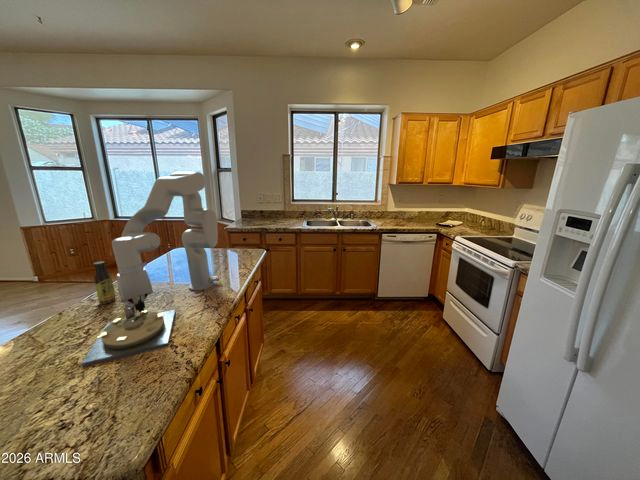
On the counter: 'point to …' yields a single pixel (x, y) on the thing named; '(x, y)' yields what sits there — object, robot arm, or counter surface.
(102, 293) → the sauce bottle
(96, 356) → the cap plate
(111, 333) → the notched gold disc
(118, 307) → the counter surface
